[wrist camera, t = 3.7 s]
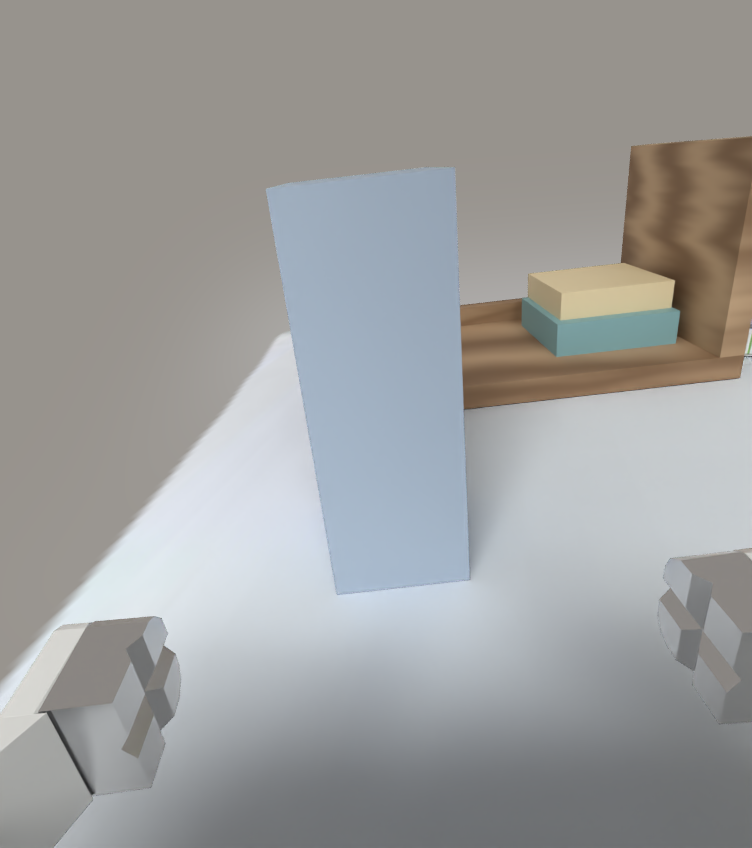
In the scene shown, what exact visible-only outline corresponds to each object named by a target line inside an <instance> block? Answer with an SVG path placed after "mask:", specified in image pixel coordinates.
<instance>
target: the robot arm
mask: <svg viewBox="0 0 752 848" xmlns="http://www.w3.org/2000/svg"><path fill="white" fill-rule="evenodd" d="M663 579H664V580H665V581H666V583H667V584H668V585H669V587H670V589H669V590H668V591H667V592H666V593H665V594H664V595H663V596H662V597H661V598H660V599H659V608H658V620H659V625H660V630H661V634H662V636H663V638H664V641H665V643H666V645H667V647H668V649H669V650H670V652H671V653H672V655H673V657H674V658H675V660H677V661H678V662H680V663H681V664H683V665H685V666H686V667H688V668H690V669H691V670H693V671H694V674H693V682H692V685H693V687H694V688H695V690H696V691H697V693H698V694H699V696H700V697H701V699H702V700H703V702H704V703H705V705H706V706H707V707H708V709H709V710H710V712H711V713H712V715H713V716H714V718H715V719H716V721H717V722H718V724H731V723H743V722H752V548H748V549H740V550H734V551H727V552H719V553H710V554H702V555H694V556H685V557H677V558H670V559H669V561H668V562H667V564H666V565H665V570H664V575H663ZM167 635H168V632H167V630H166V628H165V625H164V623H163V620H162V618H159V617H156V616H152V617H140V618H129V619H118V620H106V621H95V622H93V623H80V624H68V625H62V626H61V627H59V628H58V629H56V630H55V631H54V632H53V633H52V635H51V636H50V638H49V639H48V641H47V643H46V644H45V646H44V647H43V649H42V650H41V652H40V653H39V655H38V657H37V658H36V660H35V661H34V663H33V664H32V666H31V667H30V669H29V671H28V672H27V674H26V675H25V677H24V678H23V680H22V682H21V683H20V685H19V686H18V688H17V689H16V691H15V692H14V694H13V696H12V697H11V699H10V700H9V702H8V703H7V705H6V706H5V708H4V710H3V711H2V713H1V714H0V848H53V847H54V846H55V845H56V844H57V843H58V841H59V840H60V839H61V838H62V837H63V835H64V834H65V833H66V832H67V831H68V829H69V828H70V827H71V826H72V825H73V823H74V822H75V821H76V820H77V819H78V817H79V816H80V815H81V814H82V813H83V811H84V810H85V809H86V808H87V807H88V805H89V804H90V803H91V802H92V801H93V797H92V796H97V795H104V794H111V793H118V792H125V791H132V790H139V789H146V788H151V787H152V784H153V781H154V778H155V775H156V772H157V768H158V765H159V762H160V759H161V756H162V753H163V750H164V747H165V744H166V743H165V741H164V738H163V736H162V733H161V731H160V730H161V729H162V728H163V727H164V726H165V725H166V724H167V723H168V722H169V721H170V720H171V719H172V718H173V717H174V715H175V712H176V708H177V705H178V702H179V697H180V686H181V675H180V667H179V663H178V660H177V657H176V654H175V653H174V652H172V651H171V650H169V649H168V648H166V647H165V646H163V645H164V643H165V640H166V637H167Z"/></svg>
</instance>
